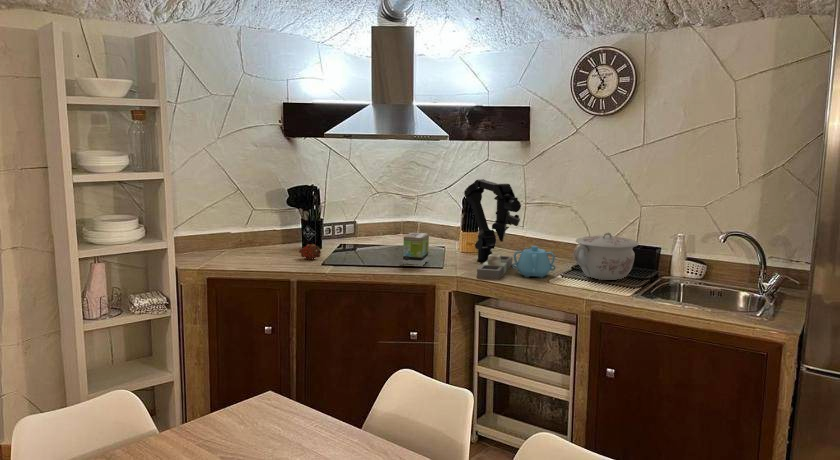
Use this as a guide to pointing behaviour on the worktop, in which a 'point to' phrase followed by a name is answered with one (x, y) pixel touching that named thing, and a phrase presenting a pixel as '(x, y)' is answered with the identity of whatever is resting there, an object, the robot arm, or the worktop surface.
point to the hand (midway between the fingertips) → (501, 241)
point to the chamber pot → (605, 256)
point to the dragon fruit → (310, 251)
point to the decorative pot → (534, 262)
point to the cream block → (494, 259)
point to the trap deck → (494, 269)
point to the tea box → (415, 248)
